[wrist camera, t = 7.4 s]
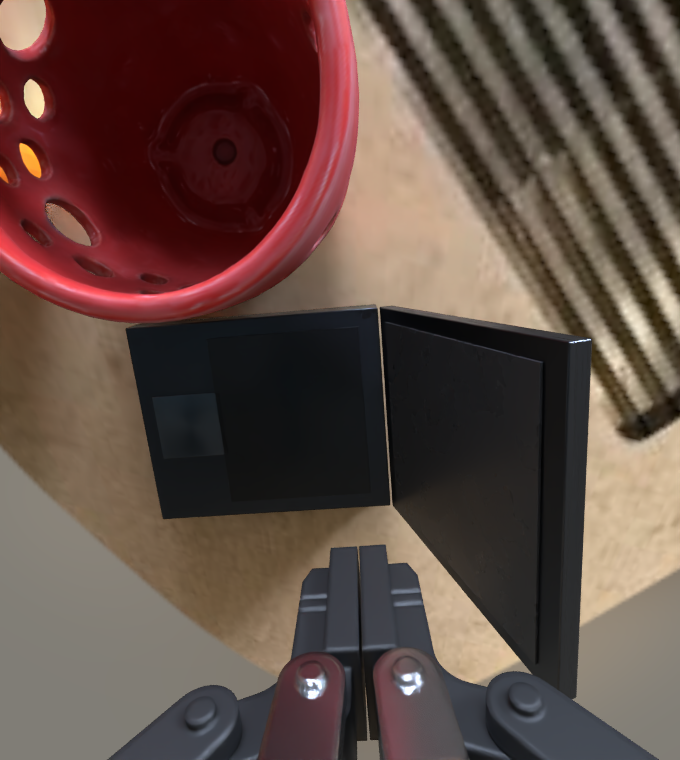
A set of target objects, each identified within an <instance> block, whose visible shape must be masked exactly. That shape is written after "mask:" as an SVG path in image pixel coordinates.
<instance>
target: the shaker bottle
mask: <svg viewBox="0 0 680 760" xmlns="http://www.w3.org/2000/svg"><path fill="white" fill-rule="evenodd" d="M0 113H1V110H0ZM19 147H20V152H21V156H22V159H23V162H24V164H25V165H26V167H27V169H28V170H29V172H30V173H31V174H33V175H34V176H36V177H38V178H40V177H41V169H40V165H39V162H38V159H37V157H36V156H35V154H34V152H33V151H32V150H31V149H30V148H29V147H28V146H27V145H25V144H22V143H20V145H19ZM0 177H1V178H2V179H3V180H4V181H5V182H7V183H8V179H7V177H6V174H5V172H4V171H3V169H2V168H1V167H0ZM25 232H26V231H25Z"/></svg>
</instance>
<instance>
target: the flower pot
mask: <svg viewBox="0 0 680 760" xmlns="http://www.w3.org/2000/svg"><path fill="white" fill-rule="evenodd" d="M2 2H3V0H0V5H1V3H2ZM44 2H45V6H46V18H45V24H44V27H43V30H42V32H41V34H40V36H39V38H38V39H37V40H36V41H35V42H34V43H33V44H32V45H31V46H30V47H28V48H26V49H23V50H19V51H16V50H12V49H9V48H7V47H6V46H5V45H4V44H3V42H2V41H1V38H0V101H1V113H0V167H1V168H2V169H3V171H4V172H5V174H6V177H7V179H8V183H7V182H5V181H4V180H3V179H2V178H1V177H0V271H1V272H2V273H3V274H4V275H6V276H7V277H8V278H9V279H11V280H12V281H14V282H15V283H17V284H18V285H20V286H22V287H23V288H25V289H26V290H28V291H30V292H31V293H33V294H35V295H36V296H38V297H40V298H42V299H44V300H46V301H49V302H51V303H53V304H55V305H58V306H60V307H63V308H65V309H68V310H71V311H74V312H77V313H80V314H83V315H86V316H89V317H93V318H98V319H103V320H108V321H115V322H124V323H161V322H170V321H178V320H183V319H188V318H193V317H198V316H202V315H205V314H209V313H213V312H216V311H220V310H223V309H226V308H229V307H232V306H234V305H237V304H239V303H242V302H244V301H247V300H249V299H251V298H254V297H256V296H258V295H260V294H261V293H263V292H265V291H266V290H268V289H270V288H272V287H273V286H275V285H277V284H278V283H279V282H281V281H282V280H284V279H285V278H286V277H288V276H289V275H290V274H291V273H292V272H293V271H295V270H296V269H297V268H298V267H299V266H300V265H301V264H302V263H303V262H304V261H305V260H306V259H307V258H308V257H309V256H310V255H311V254H312V252H313V251H314V250H315V249H316V248H317V246H318V245H319V244H320V243H321V241H322V240H323V239H324V238H325V236H326V235H327V233H328V232H329V230H330V229H331V227H332V226H333V224H334V222H335V220H336V218H337V216H338V214H339V212H340V209H341V207H342V204H343V202H344V199H345V196H346V192H347V188H348V184H349V179H350V175H351V171H352V167H353V162H354V157H355V151H356V144H357V134H358V117H359V87H358V74H357V62H356V55H355V48H354V42H353V36H352V31H351V26H350V21H349V16H348V11H347V6H346V2H345V0H44ZM29 79H32V80H34V81H35V82H36V83H37V84H38V85H39V86H40V88H41V90H42V93H43V95H44V101H45V106H44V112H43V114H42V115H41V117H40V118H38V119H37V118H35V117H34V116H33V115H31V114H30V112H29V110H28V109H27V107H26V105H25V101H24V85H25V83H26V82H27V81H28V80H29ZM20 143H22V144H25V145H27V146H28V147H29V148H30V149H31V150H32V151H33V152H34V154H35V156H36V157H37V159H38V162H39V165H40V169H41V177H40V178H38V177H36V176H34V175H33V174H31V173H30V172H29V170H28V169H27V167H26V165H25V164H24V162H23V159H22V156H21V152H20V147H19V145H20ZM46 203H52V204H56V205H58V206H60V207H62V208H64V209H65V210H66V211H68V212H69V213H70V214H71V215H73V216H74V217H75V218H76V220H77V221H78V222H79V223H80V224H81V225H82V226H83V228H84V229H85V230H86V232H87V234H88V236H89V238H90V241H91V246H85V245H82V244H79V243H76V242H74V241H72V240H70V239H69V238H67V237H66V236H64V235H63V234H62V233H61V232H60V231H58V230H57V229H56V228H55V226H54V225H53V224H52V223H51V221H50V220H49V219H48V216H47V214H46V212H45V205H46ZM25 231H26V232H27V233H29V234H31V235H32V236H33V237H34V238H36V239H37V240H38V241H39V242H40V243H41V244H40V243H38V242H36V241H35V240H34V239H33V238H32V237H30V236H29V235H28V234H27V233H26V232H25ZM90 272H91V273H90ZM92 273H93V274H92ZM94 274H95V275H94Z"/></svg>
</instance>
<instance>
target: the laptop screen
mask: <svg viewBox="0 0 680 760" xmlns="http://www.w3.org/2000/svg"><path fill="white" fill-rule="evenodd" d="M380 317H381V333H382V348H383V364H384V379H385V395H386V410H387V426H388V441H389V457H390V472H391V488H392V503H393V506H394V507H395V509H396V510H397V511H398V512H399V513H400V515H401V516H402V517H403V518H404V519H405V521H406V522H407V523H408V524H409V526H410V527H411V528H412V529H413V530H414V532H415V533H416V534H417V535H418V536H419V538H420V539H421V540H422V541H423V542H424V544H425V545H426V546H427V547H428V549H429V550H430V551H431V552H432V553H433V555H434V556H435V557H436V558H437V559H438V561H439V562H440V563H441V564H442V565H443V567H444V568H445V569H446V570H447V571H448V573H449V574H450V575H451V576H452V578H453V579H454V580H455V581H456V582H457V584H458V585H459V586H460V587H461V588H462V590H463V591H464V592H465V593H466V594H467V596H468V597H469V598H470V599H471V600H472V602H473V603H474V604H475V605H476V607H477V608H478V609H479V610H480V611H481V613H482V614H483V615H484V616H485V617H486V619H487V620H488V621H489V622H490V623H491V625H492V626H493V627H494V628H495V630H496V631H497V632H498V633H499V634H500V636H501V637H502V638H503V639H504V640H505V642H506V643H507V644H508V645H509V646H510V648H511V649H512V650H513V651H514V652H515V654H516V655H517V656H518V657H519V659H520V660H521V661H522V662H523V663H524V665H525V666H526V667H527V668H528V669H529V671H530V672H531V673H532V674H533V675H534V676H537V677H539V678H541V679H542V680H544V681H546V682H547V683H549V684H550V685H551V686H553V687H554V688H556V689H557V690H559V691H560V692H562V693H563V694H565V695H566V696H567V697H569V698H570V699H574V698H576V690H577V668H578V644H579V623H580V601H581V578H582V556H583V533H584V510H585V488H586V465H587V443H588V420H589V397H590V375H591V352H592V339H590V338H585V337H579V336H573V335H567V334H561V333H555V332H548V331H542V330H536V329H530V328H524V327H518V326H512V325H506V324H500V323H494V322H488V321H482V320H475V319H469V318H463V317H457V316H451V315H445V314H439V313H433V312H427V311H421V310H415V309H409V308H402V307H396V306H385V307H380Z"/></svg>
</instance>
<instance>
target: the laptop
mask: <svg viewBox="0 0 680 760" xmlns="http://www.w3.org/2000/svg"><path fill="white" fill-rule="evenodd" d="M126 334H127V339H128V344H129V349H130V354H131V359H132V364H133V369H134V374H135V379H136V385H137V390H138V395H139V400H140V405H141V410H142V415H143V420H144V425H145V430H146V435H147V441H148V446H149V451H150V456H151V461H152V466H153V471H154V476H155V481H156V486H157V491H158V497H159V502H160V507H161V512H162V517H163V519H173V518H190V517H206V516H222V515H238V514H255V513H271V512H287V511H304V510H320V509H336V508H353V507H369V506H385V505H390V490H389V474H388V459H387V444H386V429H385V414H384V398H383V383H382V368H381V353H380V338H379V323H378V309H377V306H376V305H375V304H373V305H361V306H349V307H337V308H325V309H313V310H301V311H289V312H277V313H265V314H253V315H241V316H229V317H217V318H205V319H193V320H181V321H170V322H161V323H145V324H139V325H135V326H132V327H128V328H126Z"/></svg>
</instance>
